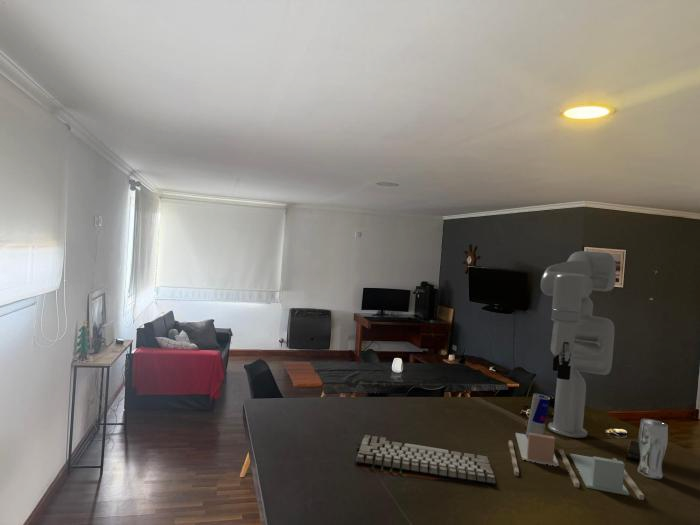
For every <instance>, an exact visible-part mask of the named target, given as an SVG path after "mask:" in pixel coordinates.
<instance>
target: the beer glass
mask: <svg viewBox="0 0 700 525" xmlns="http://www.w3.org/2000/svg"><path fill="white" fill-rule="evenodd" d="M668 429H669V425H668V424H667V423H665V422H662V421H660V420H655V419H650V418H642V419H640V425H639V430H638V448H639V464H638V467H637V473H638V474H640V475H641V476H643V477H646V478H649V479H652V480H653V479H654V480H662V479H663V476H664V475H663V461H664V458H665V455H666V452H667V451H666V450H667V446H668V442H669V441H668V440H669V438H668V437H669V430H668Z"/></svg>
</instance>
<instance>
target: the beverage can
mask: <svg viewBox="0 0 700 525" xmlns="http://www.w3.org/2000/svg"><path fill="white" fill-rule="evenodd" d="M550 400H551V398H550V396H548V395H544V394H541V393H533V395H532V400H531V405H530V412H529V416H528V422H527V428H526V432H525V434H526V437H527V439H528V435H529V433H535V434H541V435H545V430H546V429H545V428H546V423H547V418H548V412H549V407H550V402H551V401H550Z"/></svg>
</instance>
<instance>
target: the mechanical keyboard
mask: <svg viewBox="0 0 700 525" xmlns="http://www.w3.org/2000/svg"><path fill="white" fill-rule="evenodd" d="M355 451H356V454H357V455H356V458H355V461H354V464H353V465H354V466H355V467H358V468H357V469H358V470H362V471H369V472H376V473H382V474H390V475H395V476H401V477H415V478H418V479H419V478H420V479H427V480H435V481H436V480H444V481H445V480H446V481H453V482H459V483H460V482H461V483H466V484H467V483H468V484H472V485H479V486H484V487H485V486H487V487H493V488H496V487H497V485H496V476H495V475H494V472H493V469H492V467H491V464H490V461H489V458H488V456H486V455H480V454H477V455H476V457H475V454H472V453H467V452H464V453H463V455H462V452H460V451H455V450H454V451H453V450H451V451H450V452H449V449H443V448H440V447H439V448H437V447H432V446H426V445H419V444H413V443H404V445H403V443H402V442H397V441H392V442H391V441H390V440H387V438H386V437H383V436H380V437H378V436H374V435H373V436H371V435H368V434H365V435H364V437H363V439H362V441H361V443H358V444H357V447H356V450H355Z"/></svg>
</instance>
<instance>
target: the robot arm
mask: <svg viewBox="0 0 700 525" xmlns="http://www.w3.org/2000/svg"><path fill="white" fill-rule="evenodd" d="M616 269H617V265H616V261H615V258H614V256H613V255H612V254H611V253H609V252H603V251H587V250H581V251H580V250H579V251H574V252H573V253H572V254H571V255H569V257H568V259H567V260H566V261H565V262H560V263H555V264H553V265H549V266H548V267H546V269H545V271H544V272H543V273H542V275H541V280H540V289H541V290H540V291H541V292H542V293H543V294H544V295H546V296H550V297H552V305H551V318H550V320H551V321H553V326H552V327H553V328H552V333H551V342H550V352H551V353H552V354H553V360H552V371H554V372H556V373H557V375H556V386H555V387H556V389H555V398H554V411H553V419H552V420H553V421H551V422H549V423H548V425H547V428H548V429H549V430H550V431H551V432H553V433H555V434H558V435H561V436H565V437H569V438H575V439H576V438H577V439H578V438H579V439H581V438H586V437H588V431H587V430H586V429H585V428H584V418H585V417H584V416H585V404H586V394H587V384H586V380H585V378H584V377H583V376H582V374H581V373H580V372H584V373H587V374H589V373H590V374H595V375H601V376H606V375H609V374H610V373H611V370H612V366H613V353H614V344H615V343H614V342H615V325H614V322H613V321H612V320H611V319H609V318H606V317H604V316H603V317H602V316H595V315H593V312H594V311H593V310H594V302H593V301H592V299H591V298H590V295H592V292H593V291H598V292H610V291H612V290H613V289H614V287H615V285H616V281H617V280H616V279H617V278H616V276H617V275H616ZM575 341H577V342H578V343H577V342H575ZM579 342H583V343H579ZM585 343H591V344H596V345H590V344H585Z"/></svg>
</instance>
